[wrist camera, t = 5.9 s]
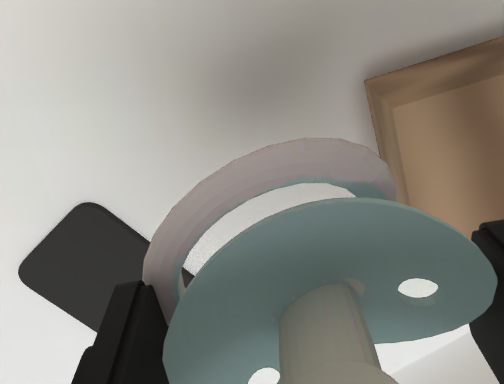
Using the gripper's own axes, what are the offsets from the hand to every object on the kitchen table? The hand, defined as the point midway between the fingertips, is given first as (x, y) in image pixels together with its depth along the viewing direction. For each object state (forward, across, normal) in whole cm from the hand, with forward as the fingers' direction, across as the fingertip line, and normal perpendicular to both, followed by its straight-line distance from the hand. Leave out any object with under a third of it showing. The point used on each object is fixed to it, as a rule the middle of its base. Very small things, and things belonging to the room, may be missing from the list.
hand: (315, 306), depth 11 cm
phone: (+15, +10, +11) cm, 22 cm away
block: (+16, -10, +4) cm, 19 cm away
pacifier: (+1, 0, -1) cm, 2 cm away
